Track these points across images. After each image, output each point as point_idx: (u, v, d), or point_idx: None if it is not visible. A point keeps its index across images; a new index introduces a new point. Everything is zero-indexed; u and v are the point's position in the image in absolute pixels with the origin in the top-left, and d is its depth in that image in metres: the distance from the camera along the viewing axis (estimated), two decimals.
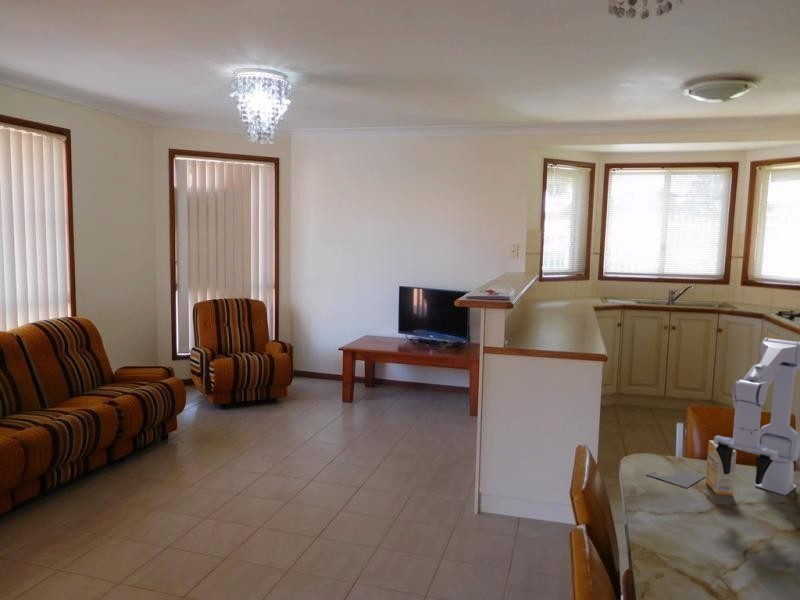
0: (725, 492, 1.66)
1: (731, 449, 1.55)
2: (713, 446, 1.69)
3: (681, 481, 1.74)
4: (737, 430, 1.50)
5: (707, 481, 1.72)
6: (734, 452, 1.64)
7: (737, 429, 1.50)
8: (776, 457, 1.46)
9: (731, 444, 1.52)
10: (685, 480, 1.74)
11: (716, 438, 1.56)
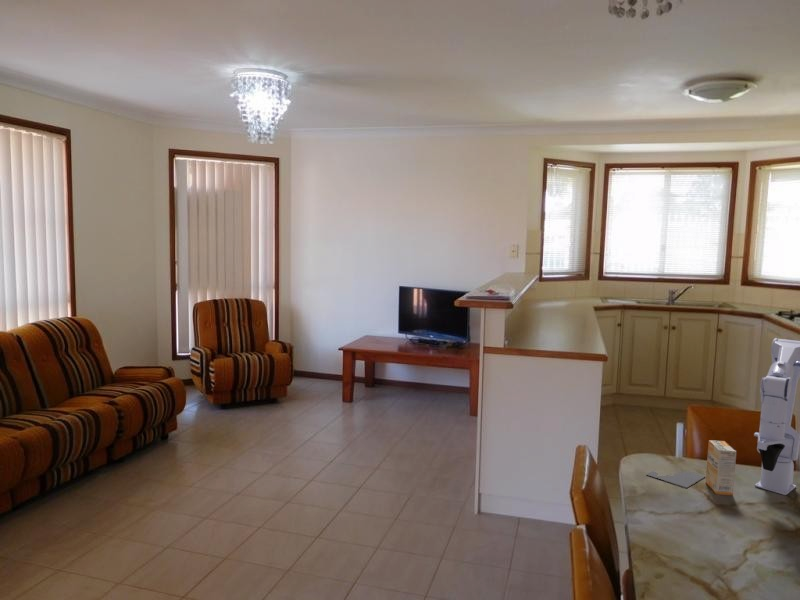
0: (725, 492, 1.66)
1: None
2: (713, 446, 1.69)
3: (681, 481, 1.74)
4: None
5: (707, 481, 1.72)
6: (734, 452, 1.64)
7: None
8: (761, 447, 1.54)
9: None
10: (685, 480, 1.74)
11: None
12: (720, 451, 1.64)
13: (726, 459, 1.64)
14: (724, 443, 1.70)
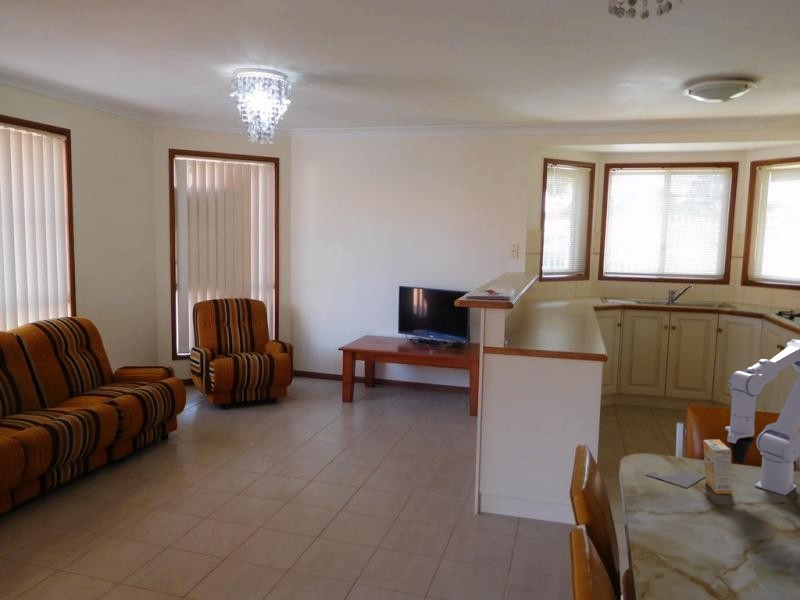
0: (725, 491, 1.66)
1: None
2: (708, 446, 1.69)
3: (681, 481, 1.74)
4: None
5: (707, 481, 1.72)
6: (728, 450, 1.64)
7: None
8: (731, 440, 1.59)
9: None
10: (685, 480, 1.74)
11: None
12: (714, 451, 1.65)
13: (721, 458, 1.65)
14: (718, 441, 1.70)
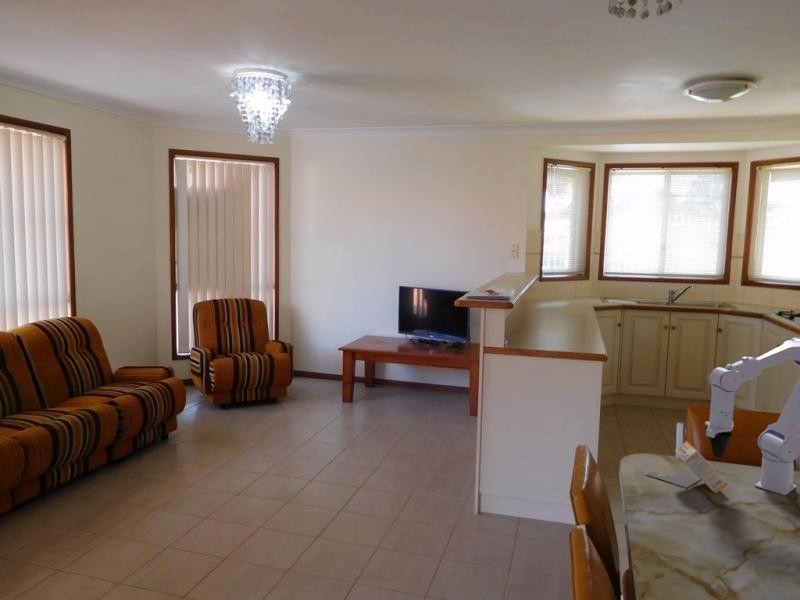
0: (721, 486, 1.66)
1: None
2: (680, 456, 1.70)
3: (681, 481, 1.74)
4: None
5: None
6: (696, 453, 1.65)
7: None
8: (710, 435, 1.63)
9: None
10: (685, 480, 1.74)
11: None
12: (685, 461, 1.66)
13: (696, 463, 1.66)
14: (686, 445, 1.71)
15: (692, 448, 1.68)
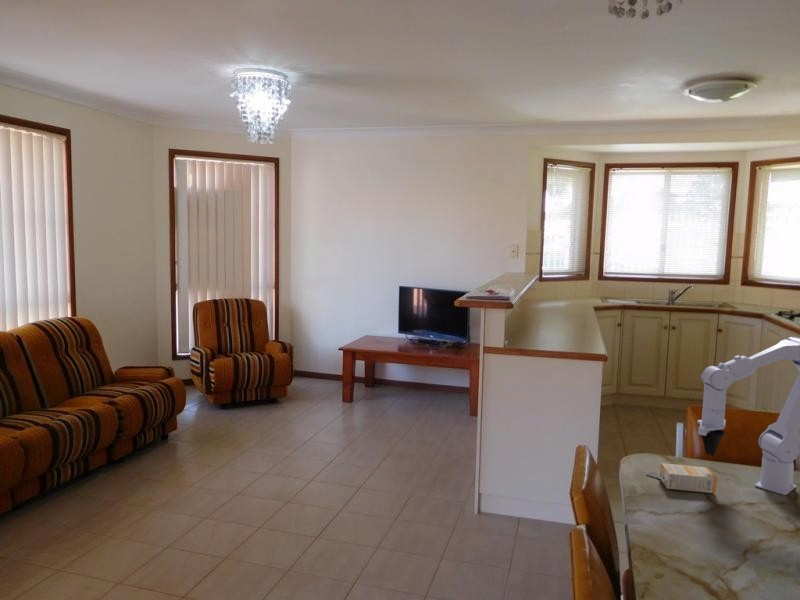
0: (713, 484, 1.65)
1: None
2: None
3: None
4: None
5: None
6: (670, 475, 1.67)
7: None
8: (702, 433, 1.65)
9: None
10: None
11: None
12: (668, 488, 1.67)
13: (677, 482, 1.67)
14: (662, 468, 1.73)
15: (666, 471, 1.69)
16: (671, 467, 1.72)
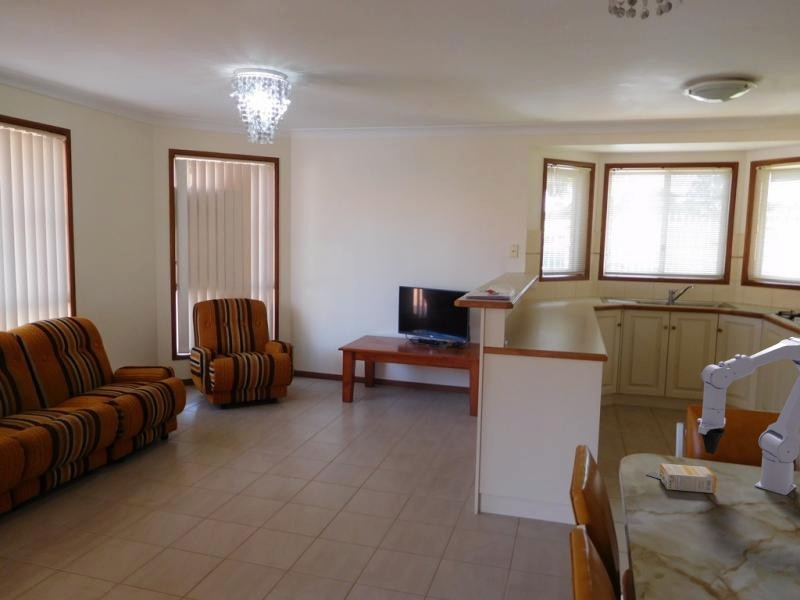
0: (713, 484, 1.65)
1: None
2: None
3: None
4: None
5: None
6: (669, 476, 1.67)
7: None
8: (702, 431, 1.65)
9: None
10: None
11: None
12: (668, 488, 1.67)
13: (677, 483, 1.67)
14: (662, 469, 1.73)
15: (665, 471, 1.69)
16: (671, 467, 1.72)
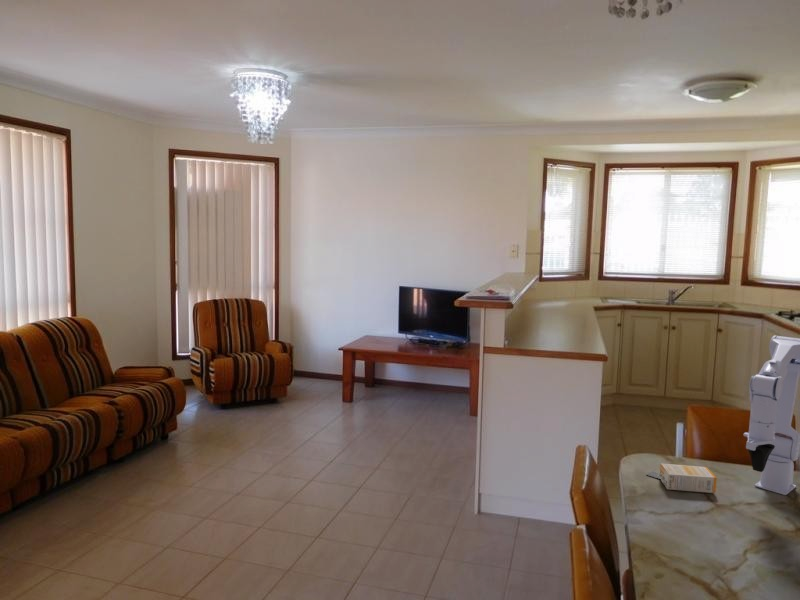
0: (713, 484, 1.65)
1: None
2: None
3: None
4: None
5: None
6: (669, 476, 1.67)
7: None
8: (750, 447, 1.51)
9: None
10: None
11: None
12: (668, 488, 1.67)
13: (677, 483, 1.67)
14: (662, 469, 1.73)
15: (665, 471, 1.69)
16: (671, 467, 1.72)
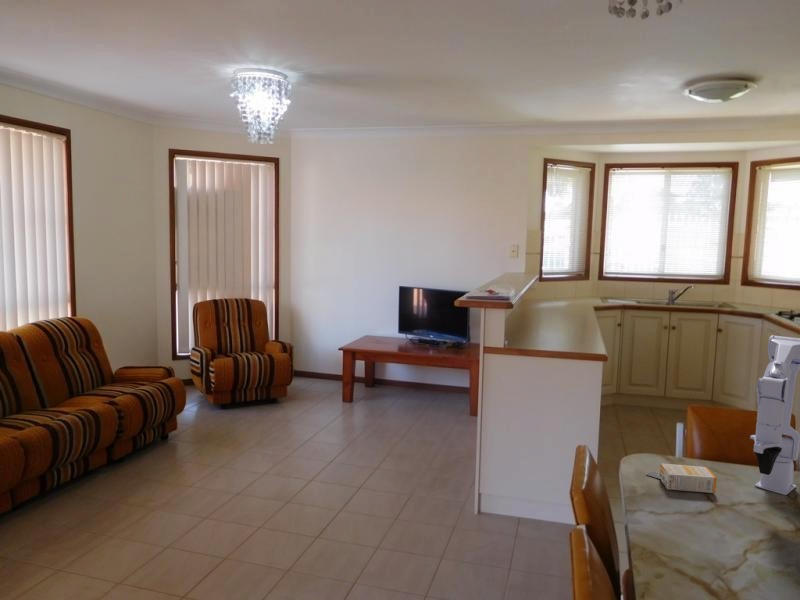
0: (713, 484, 1.65)
1: None
2: None
3: None
4: None
5: None
6: (669, 476, 1.67)
7: None
8: (758, 450, 1.49)
9: None
10: None
11: None
12: (668, 488, 1.67)
13: (677, 483, 1.67)
14: (662, 469, 1.73)
15: (665, 471, 1.69)
16: (671, 467, 1.72)
